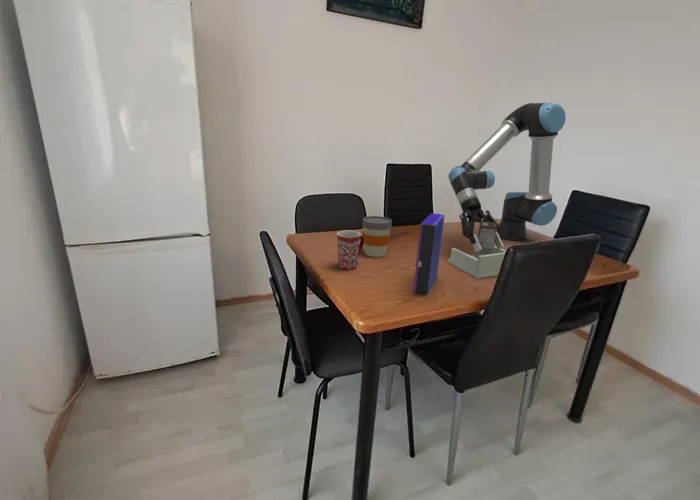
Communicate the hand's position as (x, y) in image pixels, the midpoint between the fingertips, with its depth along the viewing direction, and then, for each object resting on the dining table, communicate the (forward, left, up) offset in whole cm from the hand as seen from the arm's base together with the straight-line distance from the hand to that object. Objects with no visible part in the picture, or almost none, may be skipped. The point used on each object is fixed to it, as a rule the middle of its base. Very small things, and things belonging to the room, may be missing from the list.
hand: (490, 249), depth 155 cm
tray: (0, -3, -8) cm, 9 cm away
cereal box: (+32, +4, -9) cm, 34 cm away
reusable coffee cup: (+34, -31, -9) cm, 47 cm away
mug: (+50, -21, -9) cm, 55 cm away
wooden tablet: (+14, -51, -9) cm, 54 cm away
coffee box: (0, -3, -7) cm, 7 cm away
